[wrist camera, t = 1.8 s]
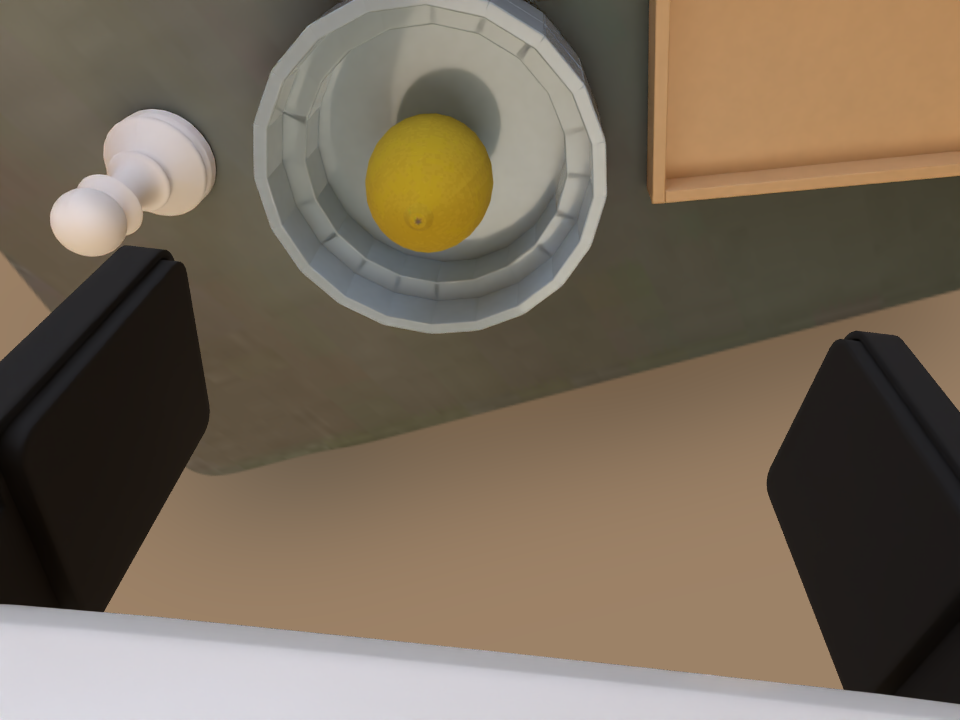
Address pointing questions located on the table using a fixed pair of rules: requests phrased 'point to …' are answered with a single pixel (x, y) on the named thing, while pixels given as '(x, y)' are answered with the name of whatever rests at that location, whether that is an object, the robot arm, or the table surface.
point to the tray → (800, 95)
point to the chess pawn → (136, 182)
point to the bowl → (448, 91)
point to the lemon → (429, 182)
